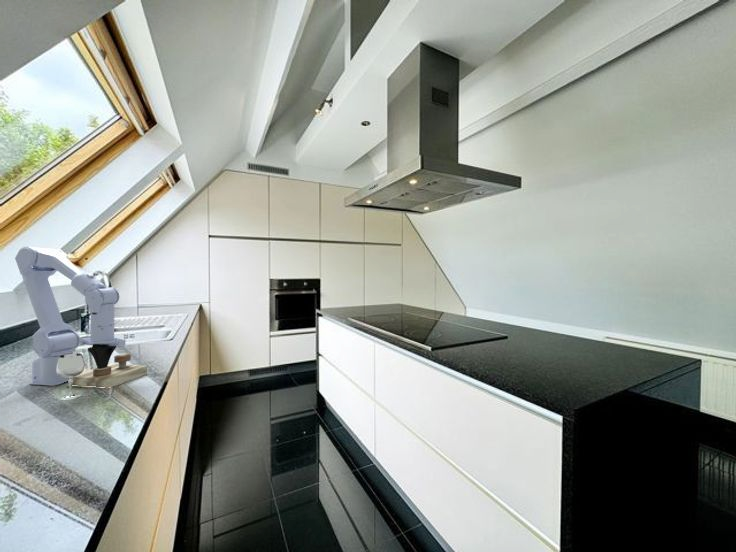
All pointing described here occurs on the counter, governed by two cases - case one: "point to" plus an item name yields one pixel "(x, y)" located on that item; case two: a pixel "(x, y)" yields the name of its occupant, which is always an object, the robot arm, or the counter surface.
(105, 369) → the knob
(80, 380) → the knob panel
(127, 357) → the knob
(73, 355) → the wineglass
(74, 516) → the counter surface
